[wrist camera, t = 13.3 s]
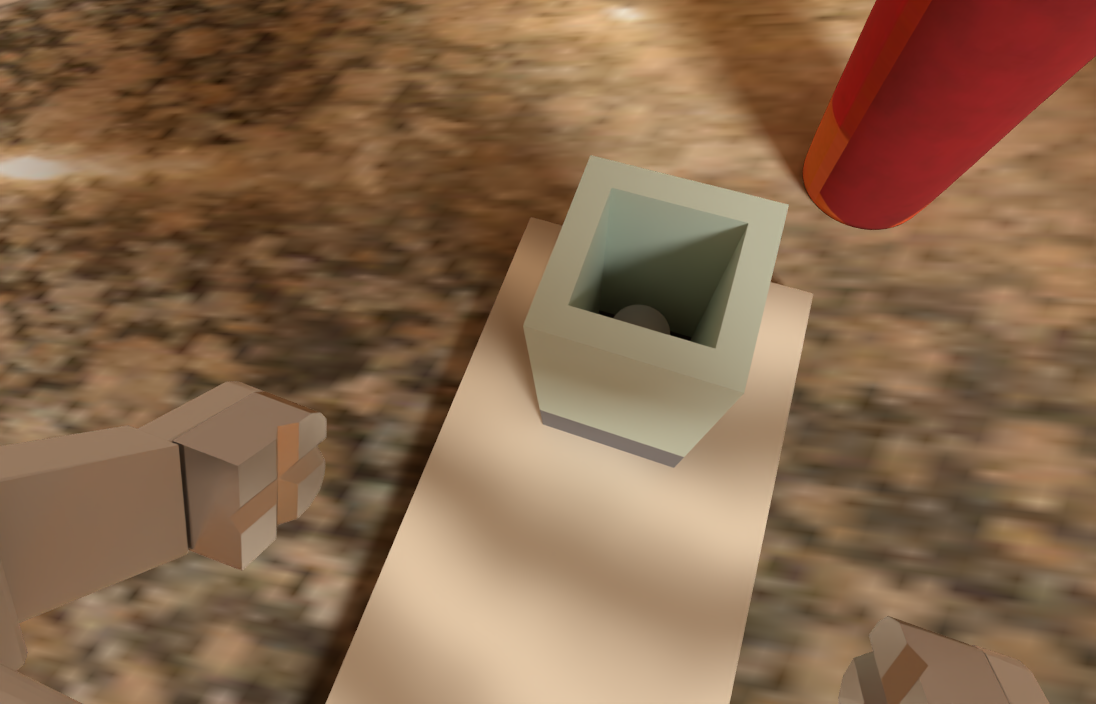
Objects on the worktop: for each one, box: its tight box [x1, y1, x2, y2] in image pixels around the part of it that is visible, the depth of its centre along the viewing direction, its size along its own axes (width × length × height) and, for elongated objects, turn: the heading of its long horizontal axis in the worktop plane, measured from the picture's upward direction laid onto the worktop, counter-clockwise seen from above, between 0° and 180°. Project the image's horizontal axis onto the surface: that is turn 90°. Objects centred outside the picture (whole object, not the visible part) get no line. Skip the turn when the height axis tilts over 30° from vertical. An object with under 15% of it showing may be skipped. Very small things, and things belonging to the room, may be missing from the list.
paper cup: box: [803, 0, 1096, 230], centre depth 20 cm, size 8×8×14 cm
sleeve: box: [523, 155, 789, 468], centre depth 17 cm, size 5×5×9 cm
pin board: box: [326, 217, 813, 704], centre depth 18 cm, size 24×12×6 cm, turn 161°
